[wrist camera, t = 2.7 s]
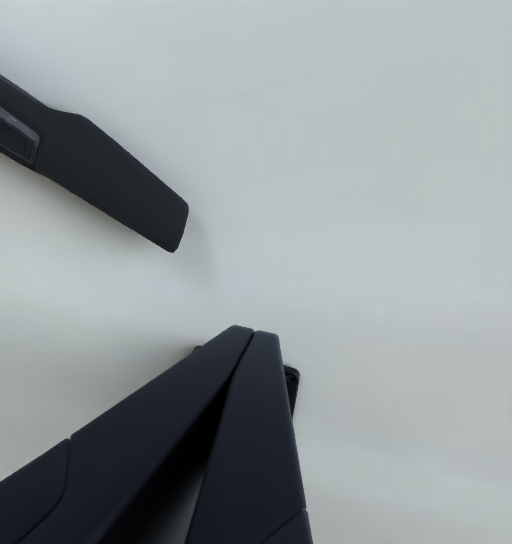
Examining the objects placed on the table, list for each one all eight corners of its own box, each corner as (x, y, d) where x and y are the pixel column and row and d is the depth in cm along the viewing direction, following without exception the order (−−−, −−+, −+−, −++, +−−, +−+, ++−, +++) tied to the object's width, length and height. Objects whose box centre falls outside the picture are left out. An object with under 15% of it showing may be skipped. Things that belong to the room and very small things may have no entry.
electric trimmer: (185, 248, 22) (158, 280, 19) (-80, 76, 21) (-147, 84, 18) (216, 194, 20) (191, 220, 17) (-76, -3, 18) (-151, -6, 16)
